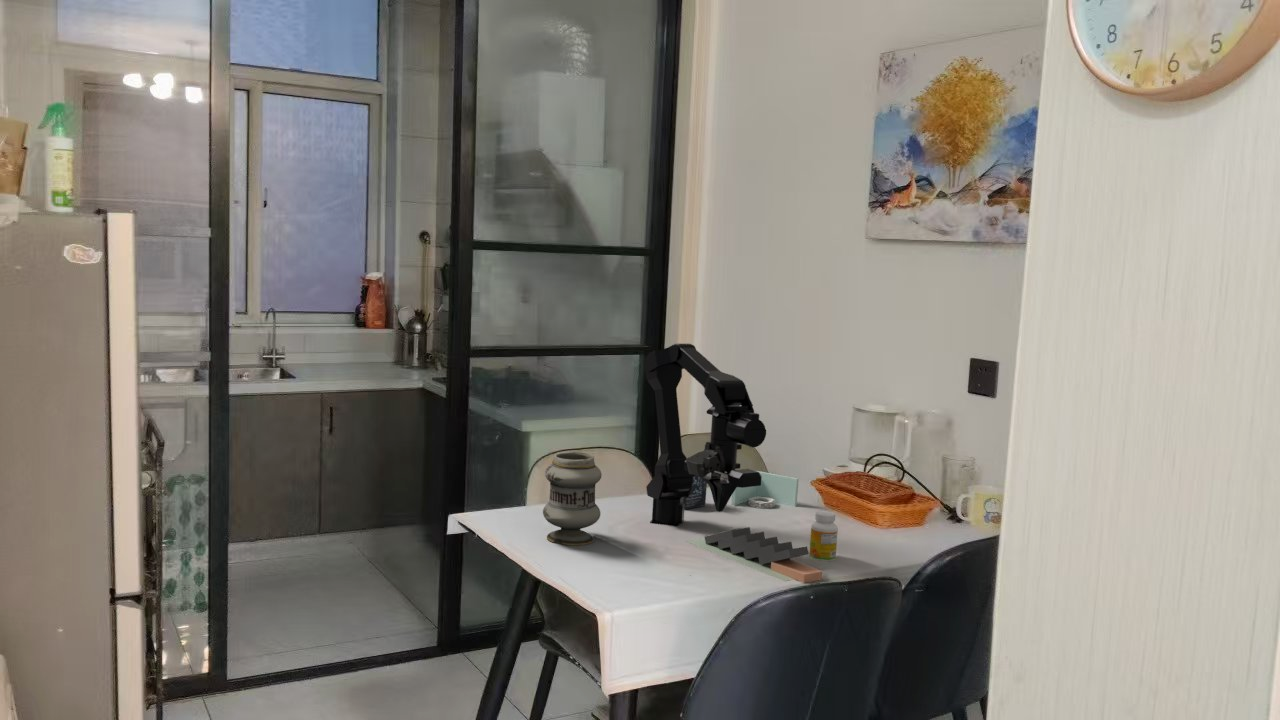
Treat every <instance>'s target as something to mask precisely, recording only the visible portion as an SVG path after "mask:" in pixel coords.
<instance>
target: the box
mask: <svg viewBox="0 0 1280 720" xmlns="http://www.w3.org/2000/svg"><path fill="white" fill-rule="evenodd" d="M707 485H708V484H707V483H706V482H705V481H704V480H703V479H701V477H698V476H697V475H694V481H693V485H692V488H691V492H690V495H689V497H683V501H682V503H684V504H685V508H684V511H685V510H688V509H694V508H699V507H705V506H706V500H707V488H708V487H707Z"/></svg>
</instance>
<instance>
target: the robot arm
mask: <svg viewBox="0 0 1280 720" xmlns="http://www.w3.org/2000/svg"><path fill="white" fill-rule="evenodd" d="M643 369H644V372H645V378H646V381H647V382H648V384H649V385H650V387H651V388H652V390H653V391H654V396H655V409H656V419H657V420H656V421H657V429H658V431H657V432H658V441H659V449H660V453H659V457H658V459H657V461H656V464H655V466H654V476H653V477H652V478H651V480H650V481H649V482H648V484H647V485H646V494H647V496H648V497H650V498H652V499H653V500H652V511H651V512H652V515H651V520H650V521H649V524H655V525H661V526H670V527H679V526H680V525H681V524H683V522H684V521H685V510H684V508H685V504H684V503H682V501H683V497H689V495H690V492H691V488H692V485H693V481H694V475H697V476H698V477H701V479H703V480H704V481H705V482H706V483H707V485H708V487H709V490H710V492H711V496H712V499H713V503H714V507H715V511H716V512H717V513H722V512H723V511H724V510H725V507H726V506H727V504H728V503H729V500H730V498H732V494H733V492H734V491H735V489H736V488H737V487H741V488H744V487H753V486H761V478H762V476H761V475H760V473H759V472H757V471H758V470H753V469H750V468H745V469H744V468H742V469H741V463H739V462H737V461H738V459H737V457H738V450H742V447H743V446H742V445H744V446H747V447H750V448H757V447H759V446H761V445H762V444H763V443H764V441H765V439H766V435H767V430H766V425H765V423H764V422H763V421H762V420H760V414H759V413H757V412H755V410H754V407H753V406H754V404H753V402H752V400H751V399H750V395H749V392H748V389H747V388H746V387H747V386H746V384H745V382H744V381H743V380H742V379H740V378H738V377H736V376H735V375H733V374H728V373H726V372H723V371H721V370H720V369H718V368H717V367H716V366H715V365H714V364H713V363H712V362H711V361H709V359H707V357H705V356H704V355H703V354H701V353H700V351H698V350H697V348H696V346H695V345H694V344H691V343H674V344H672V345H670V346H668V347H664V348H662V349H659V350H656V351H649V352H648V354H647V355H646V356H645V358H644V360H643ZM683 370H685V371H686V372H687V373H688V374H689V375H690V376H692V378H694V380H696V381H697V382H698V383H699V384H700V385H701V386H702V388H704V390H703V391H704V393H703V394H704V396H705V397H706V398H707V400H708V402H709V403H710V404H711V405H712V406H711V407H710V408H708V409H707V410H706V414H707V415H710V416H711V427H710V428H711V429H710V441H706V442H705V444H704V450H702V451H699V452H697V453H695V454H693V455H691V456H688V457H687V456H686V455H685V453H684V452H683V446H682V445H683V444H682V433H681V424H680V414H679V413H680V412H679V411H680V410H679V403H678V392H677V390H678V389H677V388H678V386H679V384H680V382H681V380H682V378H683Z"/></svg>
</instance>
